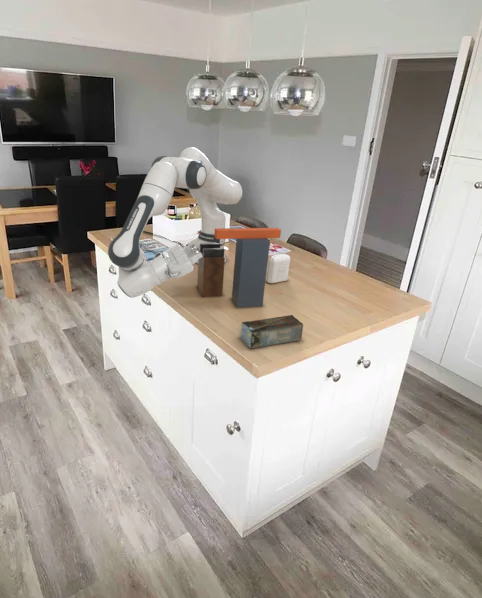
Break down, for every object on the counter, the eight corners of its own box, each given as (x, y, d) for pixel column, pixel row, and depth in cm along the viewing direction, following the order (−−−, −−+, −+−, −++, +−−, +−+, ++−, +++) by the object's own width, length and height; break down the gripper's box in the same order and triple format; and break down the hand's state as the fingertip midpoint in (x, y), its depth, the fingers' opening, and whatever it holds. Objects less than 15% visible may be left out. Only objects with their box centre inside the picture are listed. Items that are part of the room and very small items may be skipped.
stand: (237, 307, 156) (243, 240, 145) (231, 298, 163) (236, 234, 152) (262, 306, 159) (270, 240, 148) (255, 297, 165) (262, 234, 155)
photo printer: (282, 277, 188) (286, 251, 182) (288, 280, 184) (292, 254, 179) (264, 281, 182) (267, 254, 177) (270, 284, 179) (274, 257, 174)
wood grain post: (202, 297, 162) (204, 250, 155) (197, 286, 171) (199, 242, 163) (222, 296, 165) (225, 250, 157) (216, 286, 173) (218, 242, 165)
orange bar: (216, 239, 145) (216, 230, 143) (214, 236, 147) (214, 228, 146) (280, 238, 151) (281, 230, 150) (276, 235, 154) (277, 227, 153)
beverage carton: (239, 337, 136) (241, 319, 133) (290, 329, 143) (293, 312, 140) (249, 349, 129) (251, 331, 126) (302, 341, 136) (305, 323, 134)
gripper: (163, 271, 134) (201, 251, 135) (155, 252, 152) (188, 234, 153) (172, 287, 138) (209, 267, 138) (163, 266, 155) (195, 248, 156)
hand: (198, 249), depth 146 cm, fingers open, 8 cm apart
